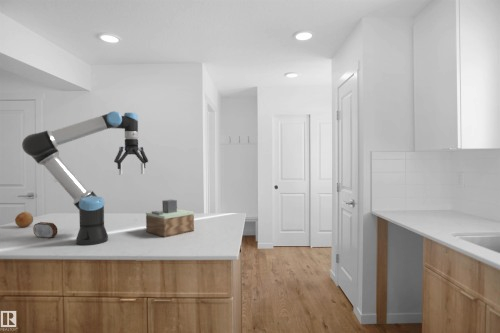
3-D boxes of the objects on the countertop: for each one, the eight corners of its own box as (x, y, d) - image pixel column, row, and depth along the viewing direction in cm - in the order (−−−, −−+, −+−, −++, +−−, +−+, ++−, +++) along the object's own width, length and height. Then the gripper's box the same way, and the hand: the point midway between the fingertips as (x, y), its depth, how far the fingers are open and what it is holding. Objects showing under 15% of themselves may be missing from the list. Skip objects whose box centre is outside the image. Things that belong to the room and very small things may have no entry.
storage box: (164, 237, 172) (164, 219, 172) (146, 232, 186) (146, 215, 186) (193, 231, 187) (193, 214, 187) (175, 226, 201) (174, 211, 200)
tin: (58, 237, 175) (57, 222, 175) (53, 238, 172) (52, 223, 172) (37, 236, 179) (37, 221, 179) (32, 237, 176) (31, 222, 176)
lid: (164, 219, 172) (164, 214, 172) (145, 215, 186) (145, 210, 186) (193, 214, 187) (193, 209, 187) (174, 210, 200) (174, 206, 200)
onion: (17, 226, 207) (16, 211, 207) (34, 225, 212) (34, 210, 211) (13, 229, 199) (12, 213, 198) (31, 227, 203) (31, 212, 203)
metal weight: (168, 213, 182) (168, 201, 182) (162, 212, 186) (162, 200, 186) (176, 211, 186) (176, 200, 186) (171, 210, 190) (171, 199, 190)
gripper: (113, 137, 174) (113, 175, 175) (153, 139, 192) (154, 173, 193) (107, 138, 179) (108, 175, 180) (147, 140, 198) (147, 173, 198)
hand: (132, 174), depth 186 cm, fingers open, 13 cm apart
